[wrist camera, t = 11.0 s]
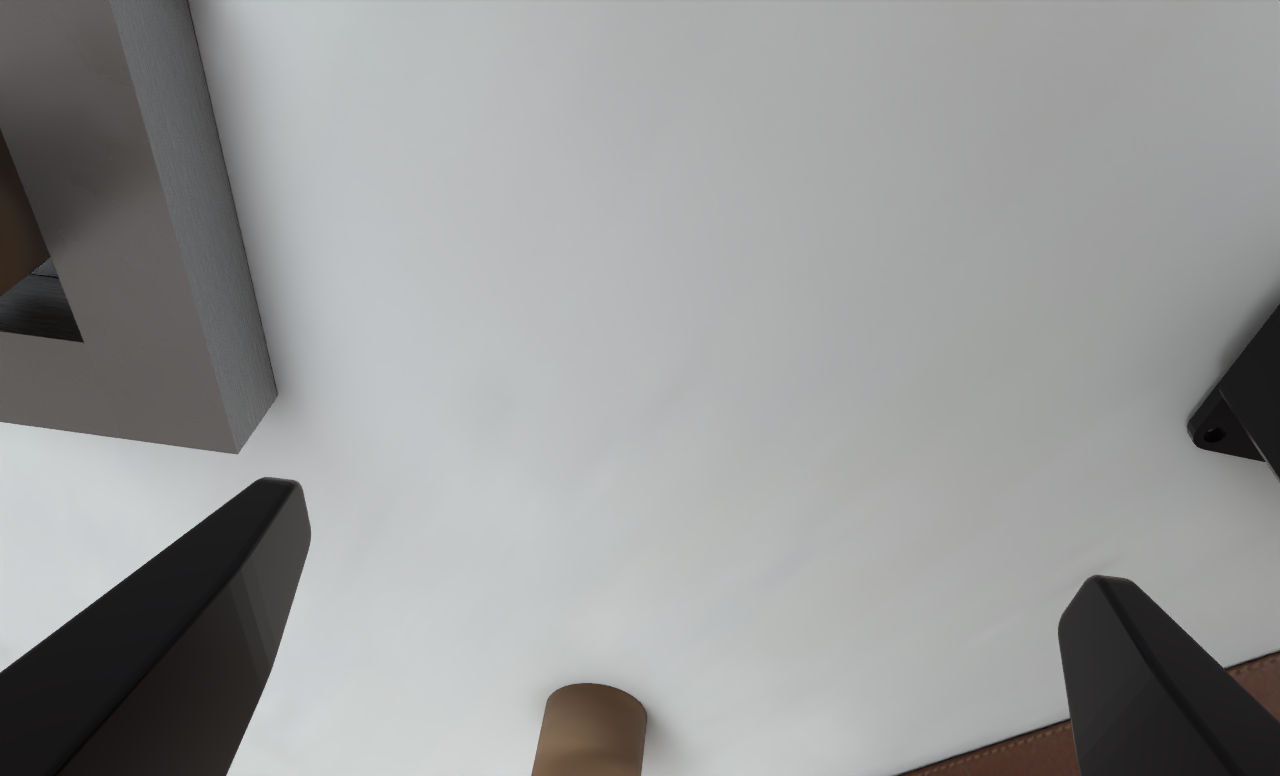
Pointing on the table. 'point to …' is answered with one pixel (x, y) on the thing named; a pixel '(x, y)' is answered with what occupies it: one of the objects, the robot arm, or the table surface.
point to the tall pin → (16, 227)
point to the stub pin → (591, 733)
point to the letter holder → (1046, 759)
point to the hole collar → (125, 233)
